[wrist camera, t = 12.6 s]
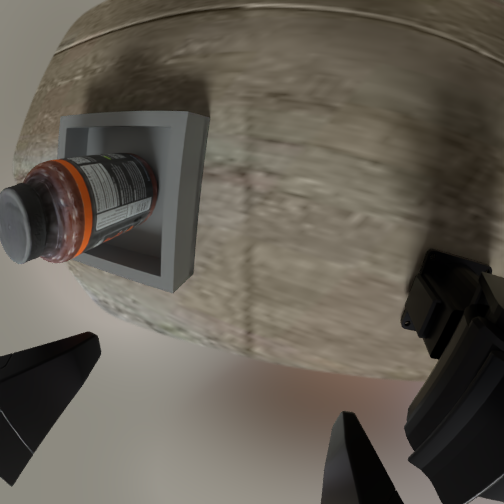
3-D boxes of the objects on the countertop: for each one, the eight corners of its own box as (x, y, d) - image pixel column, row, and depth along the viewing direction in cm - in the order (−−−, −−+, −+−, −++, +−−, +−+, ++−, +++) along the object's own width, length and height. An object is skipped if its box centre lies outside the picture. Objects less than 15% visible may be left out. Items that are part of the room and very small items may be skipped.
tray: (210, 117, 18) (188, 111, 15) (193, 273, 23) (173, 293, 19) (88, 117, 20) (60, 116, 17) (85, 243, 25) (60, 254, 21)
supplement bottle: (111, 230, 22) (4, 282, 12) (97, 162, 21) (-19, 185, 10) (168, 221, 21) (52, 282, 10) (153, 143, 19) (23, 151, 9)
